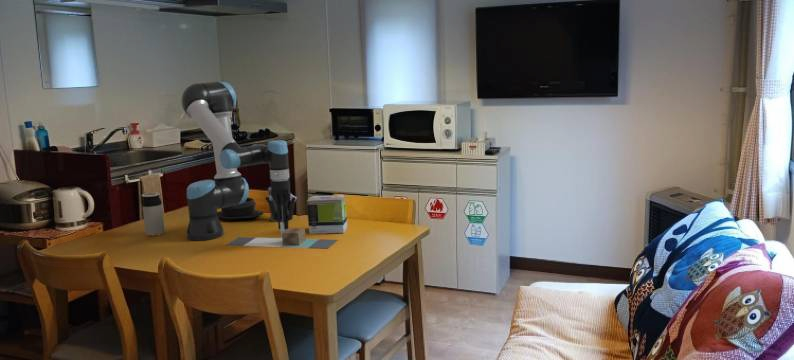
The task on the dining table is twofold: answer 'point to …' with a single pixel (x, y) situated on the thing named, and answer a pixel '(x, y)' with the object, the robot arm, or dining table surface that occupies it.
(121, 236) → the dining table surface
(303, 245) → the pad
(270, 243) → the tile
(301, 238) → the walnut block
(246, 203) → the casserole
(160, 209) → the travel mug
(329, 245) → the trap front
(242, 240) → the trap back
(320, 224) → the tea box
